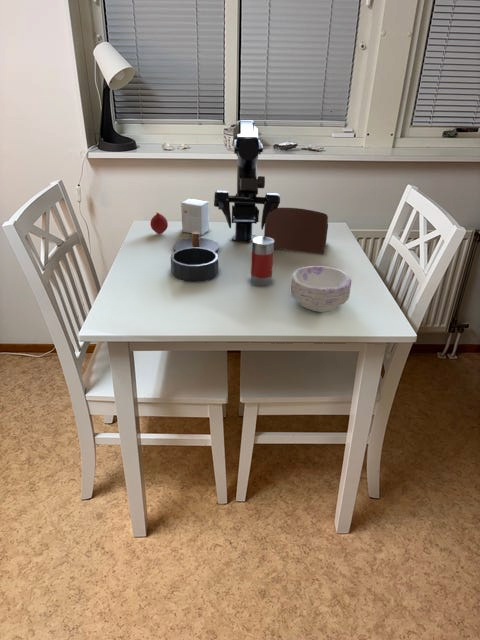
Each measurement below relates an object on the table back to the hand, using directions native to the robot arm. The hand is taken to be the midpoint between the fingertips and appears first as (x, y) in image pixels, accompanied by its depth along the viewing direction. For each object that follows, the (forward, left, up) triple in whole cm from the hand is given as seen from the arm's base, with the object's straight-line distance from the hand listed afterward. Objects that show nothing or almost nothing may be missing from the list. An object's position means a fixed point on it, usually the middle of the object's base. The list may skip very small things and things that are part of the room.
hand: (246, 228), depth 140 cm
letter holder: (-24, +9, -13) cm, 29 cm away
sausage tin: (+6, +7, -13) cm, 16 cm away
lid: (-8, -20, -12) cm, 25 cm away
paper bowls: (+13, +25, -13) cm, 31 cm away
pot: (+8, -13, -13) cm, 20 cm away
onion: (-15, -37, -13) cm, 42 cm away
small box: (-23, -27, -13) cm, 38 cm away
